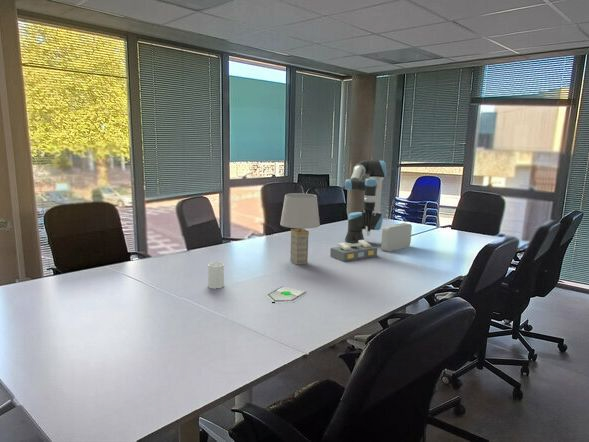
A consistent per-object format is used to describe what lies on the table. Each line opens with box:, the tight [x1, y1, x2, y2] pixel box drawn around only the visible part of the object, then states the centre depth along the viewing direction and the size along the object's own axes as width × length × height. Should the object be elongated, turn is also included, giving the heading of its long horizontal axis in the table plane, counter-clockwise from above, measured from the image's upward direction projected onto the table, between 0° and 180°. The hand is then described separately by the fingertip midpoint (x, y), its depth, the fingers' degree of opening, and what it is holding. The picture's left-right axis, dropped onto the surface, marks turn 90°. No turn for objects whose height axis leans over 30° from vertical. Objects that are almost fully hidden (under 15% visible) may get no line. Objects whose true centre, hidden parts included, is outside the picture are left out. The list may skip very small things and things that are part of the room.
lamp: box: [279, 192, 321, 265], centre depth 262 cm, size 25×25×44 cm
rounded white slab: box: [380, 222, 412, 253], centre depth 308 cm, size 29×8×18 cm, turn 129°
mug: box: [207, 261, 225, 290], centre depth 218 cm, size 12×8×12 cm
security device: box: [266, 285, 308, 302], centre depth 205 cm, size 17×22×2 cm
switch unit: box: [329, 244, 378, 263], centre depth 283 cm, size 15×30×7 cm, turn 123°
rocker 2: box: [348, 243, 361, 247], centre depth 282 cm, size 8×4×2 cm, turn 33°
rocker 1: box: [337, 242, 350, 250], centre depth 278 cm, size 8×4×2 cm, turn 33°
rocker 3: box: [358, 239, 371, 248], centre depth 287 cm, size 8×4×2 cm, turn 33°
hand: (367, 235), depth 284 cm, fingers closed
